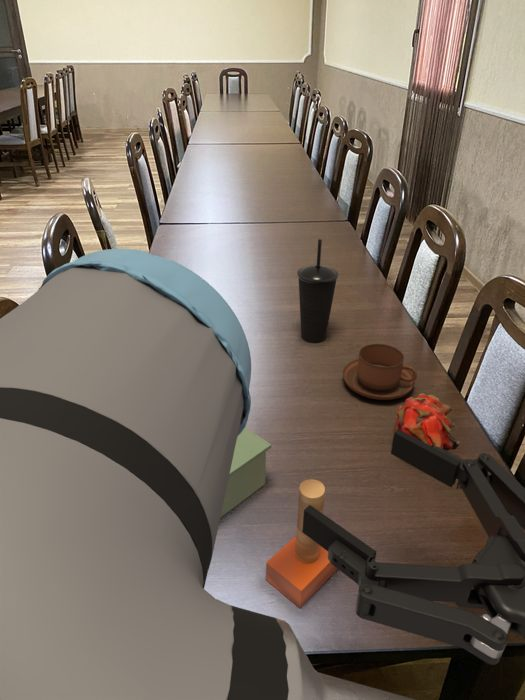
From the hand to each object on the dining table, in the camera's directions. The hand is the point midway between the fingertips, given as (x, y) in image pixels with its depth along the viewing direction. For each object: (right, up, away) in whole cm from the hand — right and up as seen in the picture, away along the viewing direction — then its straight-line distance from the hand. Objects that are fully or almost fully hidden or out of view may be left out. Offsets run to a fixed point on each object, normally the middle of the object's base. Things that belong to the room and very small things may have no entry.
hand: (353, 476), depth 49 cm
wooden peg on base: (-3, -14, +12) cm, 18 cm away
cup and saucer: (+11, +5, +43) cm, 45 cm away
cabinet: (-17, -6, +25) cm, 31 cm away
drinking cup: (+2, +14, +57) cm, 59 cm away
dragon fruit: (+15, -3, +30) cm, 34 cm away
